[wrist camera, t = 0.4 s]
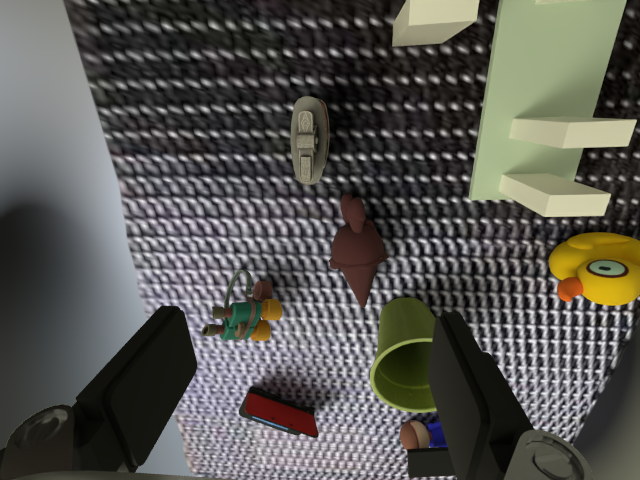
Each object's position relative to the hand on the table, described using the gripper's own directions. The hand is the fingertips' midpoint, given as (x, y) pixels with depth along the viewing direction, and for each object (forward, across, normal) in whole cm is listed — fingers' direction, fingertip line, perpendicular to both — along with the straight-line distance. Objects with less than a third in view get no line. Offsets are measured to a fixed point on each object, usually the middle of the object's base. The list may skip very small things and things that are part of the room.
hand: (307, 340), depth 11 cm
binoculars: (+29, +12, +17) cm, 36 cm away
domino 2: (+28, -22, -5) cm, 36 cm away
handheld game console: (+29, +10, +41) cm, 52 cm away
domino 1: (+29, -9, -14) cm, 33 cm away
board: (+29, -22, -11) cm, 38 cm away
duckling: (+29, -30, +10) cm, 43 cm away
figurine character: (+29, -19, +44) cm, 56 cm away
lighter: (+29, +2, -5) cm, 29 cm away
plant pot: (+29, -10, +21) cm, 37 cm away
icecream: (+29, -3, +9) cm, 31 cm away
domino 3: (+28, -22, +1) cm, 35 cm away
